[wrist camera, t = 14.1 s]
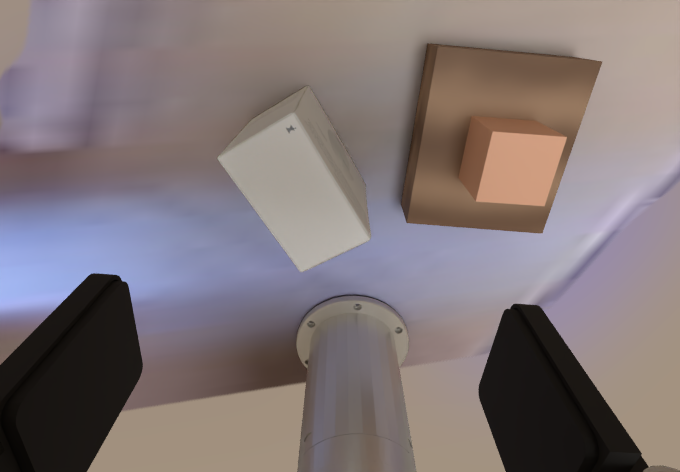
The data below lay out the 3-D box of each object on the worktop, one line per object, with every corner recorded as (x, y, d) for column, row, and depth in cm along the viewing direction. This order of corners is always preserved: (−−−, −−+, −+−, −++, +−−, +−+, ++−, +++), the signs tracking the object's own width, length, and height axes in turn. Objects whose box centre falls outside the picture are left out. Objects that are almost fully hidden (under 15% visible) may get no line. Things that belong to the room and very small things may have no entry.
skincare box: (245, 122, 36) (212, 158, 27) (308, 83, 35) (296, 107, 25) (308, 217, 40) (298, 276, 31) (367, 186, 39) (375, 239, 29)
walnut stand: (524, 214, 40) (542, 233, 36) (401, 204, 39) (406, 222, 36) (574, 57, 33) (602, 61, 30) (427, 43, 33) (438, 46, 29)
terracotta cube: (518, 182, 34) (544, 206, 30) (458, 177, 34) (475, 201, 30) (535, 120, 32) (567, 137, 27) (471, 115, 32) (492, 131, 27)
